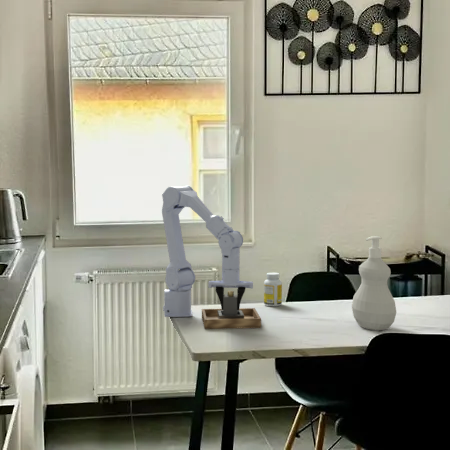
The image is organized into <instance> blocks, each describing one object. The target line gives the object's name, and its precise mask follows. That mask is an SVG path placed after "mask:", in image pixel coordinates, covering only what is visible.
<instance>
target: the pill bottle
mask: <svg viewBox="0 0 450 450" xmlns="http://www.w3.org/2000/svg"><path fill="white" fill-rule="evenodd" d="M279 278H280V273H279V272H275V271H274V272H267V273H266V279H265V280H264V281H263V304H264V305H265V306H267V307H279V306H281V305H282V302H283V298H282V297H283V296H282V295H283V294H282V293H283V282H282V280H281V279H279Z"/></svg>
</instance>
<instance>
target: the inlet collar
mask: <svg viewBox="0 0 450 450" xmlns="http://www.w3.org/2000/svg"><path fill="white" fill-rule="evenodd" d="M217 318H218V319H244V314H243V312H242V310H238V315H223V310H217Z"/></svg>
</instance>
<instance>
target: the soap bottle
mask: <svg viewBox="0 0 450 450" xmlns="http://www.w3.org/2000/svg"><path fill="white" fill-rule="evenodd" d="M381 239H382V237H381V236H379V235H371V236H369V237H366V238H365V241H371V246H370V247H369V246H368V258H367V259H366V260H365V261H363V262H362V263H361V264H360V265H358V273H359V275H360V279H361V283H360V285H359V288H358V289H356V292H355V293H354V295H353V298H352V303H351V309H352V315H353V318H354V319H355V322H356V323H357V325H358V326H360V328H361V327H362V328H363V329H366V330H371V331H384V330H388V329H390V328H391V326H392V325H393V324H394V323H395V320H396V315H397V308H396V307H397V306H396V301H395V299H394V297H393V294H392V293H391V290H390V289H389V286H388V280H389V279H390V277H391V273H392V272H391V268H390V267H389V266H388V264H387V263H386V262H385V261H384V260H383V259H382V247H380V240H381Z"/></svg>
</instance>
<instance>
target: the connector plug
mask: <svg viewBox="0 0 450 450" xmlns="http://www.w3.org/2000/svg"><path fill="white" fill-rule="evenodd" d="M223 315H238V310H237V294H235V291H234V290H227V293H226V294H225V293H224V296H223Z"/></svg>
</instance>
